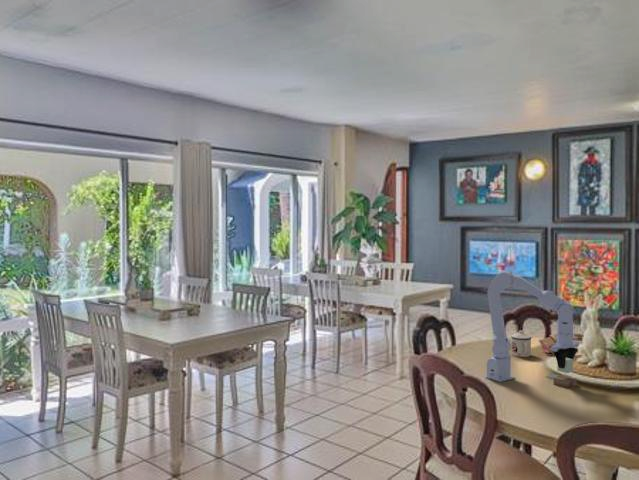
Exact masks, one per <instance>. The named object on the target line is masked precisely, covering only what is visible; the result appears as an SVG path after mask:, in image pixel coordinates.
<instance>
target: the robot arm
mask: <svg viewBox="0 0 639 480" xmlns="http://www.w3.org/2000/svg"><path fill="white" fill-rule="evenodd" d="M510 286H511V288H520V289H522V290H524V291H525V292H528V293H529V294H531V295H533V296H534V297H537V298H538V301H539V303H540V304H541V305H543V306H545V307H546V308H548V309H549V310H551V311H552V312H556V314H557V321H556V322H557V326H556V329H557V330H556V331H557V332H556V333H557V334H556V335H557V336H556V338H557V343H556V344H555V345H553V346H551V351H553V353H554V357H555V359H556V362H557V368H558V367H559V368H563V369H564V367H565V360H566V357H567V358H571V359H573V360H574V358H575V357H576V354H577V352H578V351H579V349H578V347H579V344H580V343H579V341H577V340H574V321H573V320H574V313H575V311H574V306H573V305H572V303H571V302H570V301H568V300H566V299H565V298H561V297H559V296H557V295H556V294H554V293H555V292H554V291H553V290H550V291H549V290H541V288H539V287H537V286H535V285H534V284H532V283H531V282H529V281H528V280H527V279H525V278H523V277H522V276H520V275H518V274H516V273H513V272H511V271H510V270H508V269H507V270H505V269H504V270H502V271H500V272H499V273H498V274H496V275H495V277H494V278H493V279H492V281H491V283H490V285H489V287H488V289H487V300H488V301H487V302H488V306H489V313H490V314H489V315H490V319H491V327H492V334H493V336H492V337H493V338H492V340H493V341H492V343H493V345H492V347H491V351H492V356H491V358H489V359H487V362H486V375H484V377H485V378H487V379H489V380H492V381H496V382H499V383H501V382H505V381H509V380H513V379H516V376H513V375H512V373H511V371H512V368H511V367H512V364H511V362H512V360H511V359H512V358H511V357H512V354H510V353H509V351H510V350H511V349H512V343H511V342H510V340H509V339H508V335H507V332H506V327H505V321H504V320H505V319H504V312H503V307H502V306H503V305H502V301H501V293H503V291H504V290H505V289H507V288H509V287H510ZM576 347H577V348H576Z"/></svg>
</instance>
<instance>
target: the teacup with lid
mask: <svg viewBox="0 0 639 480" xmlns="http://www.w3.org/2000/svg"><path fill="white" fill-rule="evenodd" d="M510 338H511V356H515V357H516V358H517V357H520V358H528V357H529V358H530V357H531V356H532V336H531V335H530V334H528V333H525V332H524V330H518V332H516V333H513V334H512V335H511V336H510Z"/></svg>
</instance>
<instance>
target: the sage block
mask: <svg viewBox="0 0 639 480" xmlns="http://www.w3.org/2000/svg"><path fill="white" fill-rule="evenodd" d="M557 372H560V373H564V374H569V373H572V372H574V359H571V358H567V357H566V360H565V367H564V369H563V368H559V367H558V366H557Z"/></svg>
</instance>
